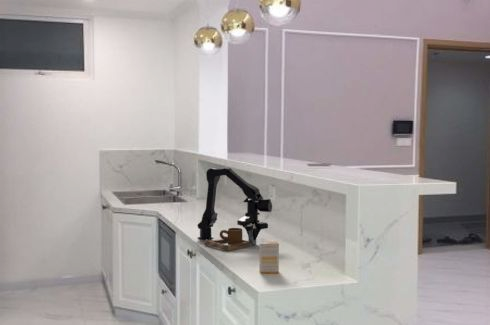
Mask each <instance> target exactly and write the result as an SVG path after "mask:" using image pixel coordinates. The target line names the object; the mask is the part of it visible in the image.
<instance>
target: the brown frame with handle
mask: <svg viewBox="0 0 490 325" xmlns="http://www.w3.org/2000/svg"><path fill="white" fill-rule="evenodd" d="M226 237H228V235H227V236H226ZM247 237H248V236H247ZM223 243H228V241H227V240H224V239H222V238H221V239H216V240H215V239H214V240H209V239H208V240H204V246H208V247H211V248H216V249H220V250H222V251H226V252H228V251H233V250H240V249H244V248H249V247H251V245H256V244H257V239H256V240H254V239H253V230H249V237H248V240H244V239H242V243H236V244H230V245H228V244H227V245H226V244H223Z"/></svg>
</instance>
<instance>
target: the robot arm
mask: <svg viewBox="0 0 490 325" xmlns="http://www.w3.org/2000/svg"><path fill="white" fill-rule="evenodd" d="M205 176H206V181H207V194H206V202H205V204H206V205H205V210H204V211H203V214H202V217H201V221H200V222H198V224H197V225H196V226H197V229H199V236H198V237H197V239H199V240H202V241H205V240H208V241H209V240H211V239H212V240H213V239H214V237H212V228H213V227H214V224H215V223H216V222H217V221H218V212H216V211H215V206H216V205H215V204H216V195H217V187H218V183H219V181H220V180H221V179H220V178H221V176H226V177H227V178H228V179H229V180H230V181H232V182H233V184H235V185H236V186H237V187H238V188H240V189H241V190H242V192H243V194H244V196H246V198H245V199H244V200H243V203H246V204H247V205H246V206H247V207H246V210H247V211H246V212H245V214H244V216H242V217H240V218H239V219H238V220H237V221H236V222H237V226H241V227H242V228H244V230H245V231H246V234H247V237H249V230H253V239H254V240H256V241H257V238H258V235H259V234H260V232H261V230H265V229H268V228H269V224H268V222H263V221H260V220H259V216H260V212H264V213H271V212H272V210H273V204H272V200H271V198H267V199H266V198H265V199H264V196H262V194H261V193H260V189H259V188H258V187H257V186H255V185H253V184H251V183H248V182H247V181H246V180H244V179H243V178H242V177H241V176H240V175H239V174H238V173H237V172H235V171H234V170H233V169H232V168H231V167H225V168H219V167H212V168H209V169H207V170H206V175H205Z"/></svg>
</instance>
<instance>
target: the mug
mask: <svg viewBox="0 0 490 325" xmlns="http://www.w3.org/2000/svg"><path fill="white" fill-rule="evenodd" d="M223 234H227V236H228V237H227V236H224V235H223ZM219 237H220V238H221V239H224V240H227V241H228V242H227V245H230V244H236V243H242V240H243V229H242V228H240V227H230V228H228V229H222V230H220V232H219Z"/></svg>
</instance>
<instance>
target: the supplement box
mask: <svg viewBox="0 0 490 325" xmlns="http://www.w3.org/2000/svg"><path fill="white" fill-rule="evenodd" d="M279 252H280V243H279V242H278V240H277V241H259V264H258V265H259V267H258V268H259V273H260V274H279V273H280V272H279V270H280V268H279V267H280V264H279V263H280V260H279V259H280V257H279V256H280V253H279Z"/></svg>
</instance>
